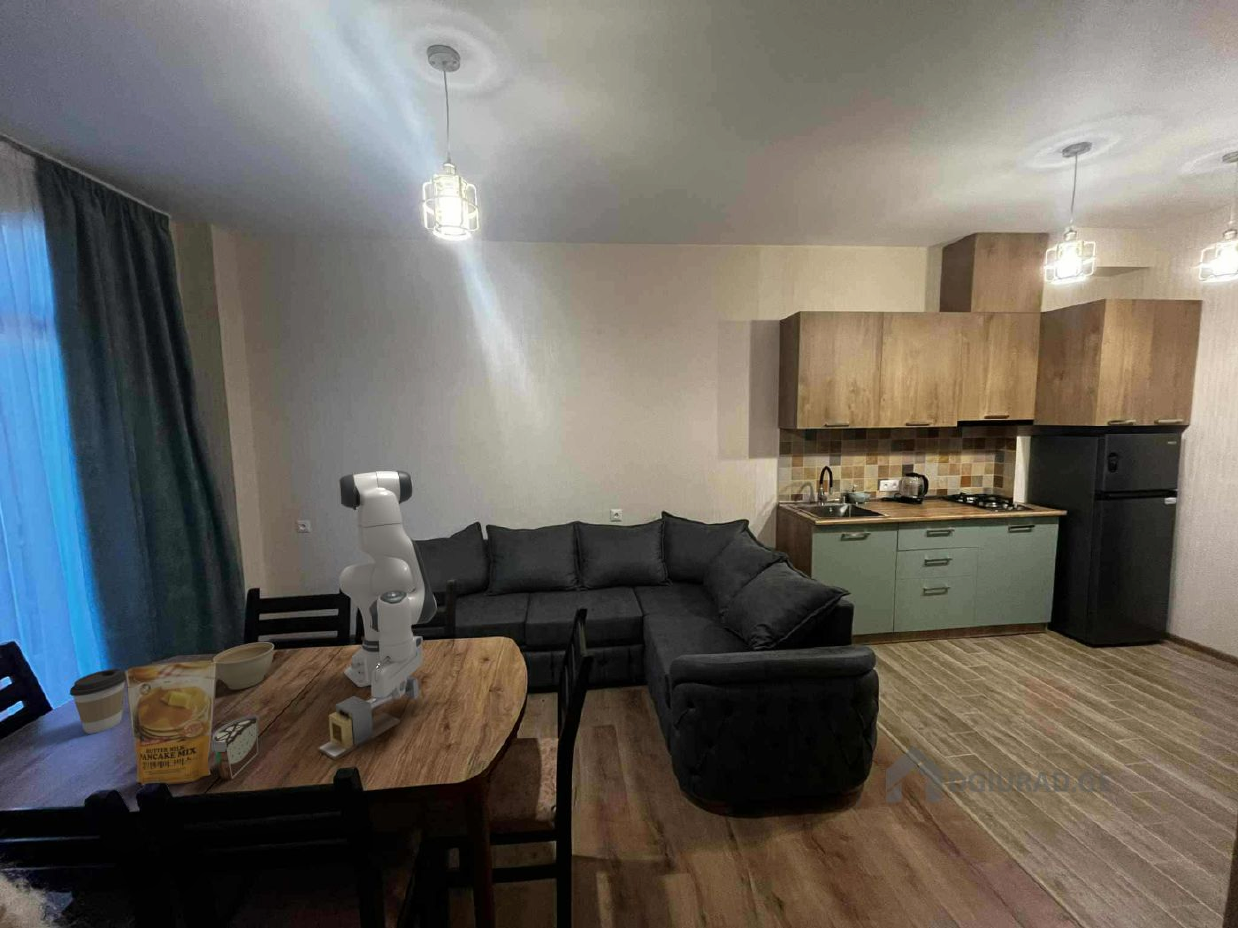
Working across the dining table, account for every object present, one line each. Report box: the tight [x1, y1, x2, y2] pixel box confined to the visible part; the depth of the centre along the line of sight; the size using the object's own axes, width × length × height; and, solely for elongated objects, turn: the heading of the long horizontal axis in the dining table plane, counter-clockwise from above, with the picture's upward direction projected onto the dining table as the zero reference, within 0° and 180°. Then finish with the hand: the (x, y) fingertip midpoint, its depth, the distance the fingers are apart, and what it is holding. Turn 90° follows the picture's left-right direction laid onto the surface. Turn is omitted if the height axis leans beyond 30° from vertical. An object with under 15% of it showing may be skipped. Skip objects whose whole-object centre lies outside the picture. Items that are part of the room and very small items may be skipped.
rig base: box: [318, 711, 401, 761], centre depth 130 cm, size 8×18×1 cm, turn 149°
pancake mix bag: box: [123, 659, 218, 787], centre depth 116 cm, size 7×19×28 cm, turn 96°
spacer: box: [328, 711, 353, 750], centre depth 125 cm, size 7×2×7 cm, turn 59°
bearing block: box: [335, 695, 374, 749], centre depth 129 cm, size 8×5×10 cm, turn 59°
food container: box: [210, 714, 260, 780], centre depth 119 cm, size 12×6×10 cm, turn 5°
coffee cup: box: [69, 668, 126, 735], centre depth 138 cm, size 11×11×15 cm
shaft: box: [366, 675, 419, 712], centre depth 135 cm, size 8×18×6 cm, turn 149°
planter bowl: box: [212, 641, 275, 690], centre depth 161 cm, size 16×16×11 cm
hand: (399, 696), depth 136 cm, fingers closed
